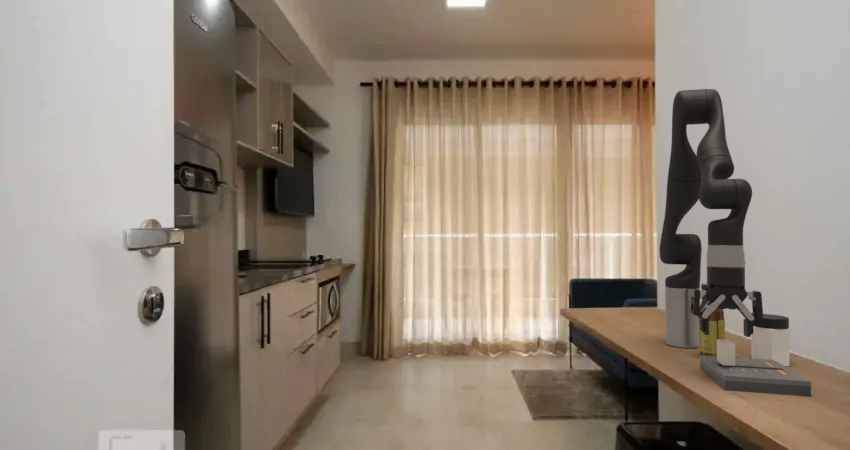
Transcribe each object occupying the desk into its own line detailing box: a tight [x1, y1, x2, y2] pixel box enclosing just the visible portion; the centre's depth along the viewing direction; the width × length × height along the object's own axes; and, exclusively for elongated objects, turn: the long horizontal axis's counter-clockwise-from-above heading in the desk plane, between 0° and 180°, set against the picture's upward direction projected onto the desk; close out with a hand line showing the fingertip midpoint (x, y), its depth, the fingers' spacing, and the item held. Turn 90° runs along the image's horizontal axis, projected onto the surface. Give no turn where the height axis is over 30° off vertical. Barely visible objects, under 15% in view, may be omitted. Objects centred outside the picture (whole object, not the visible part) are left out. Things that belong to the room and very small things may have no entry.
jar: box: [750, 313, 791, 367], centre depth 129 cm, size 9×8×12 cm
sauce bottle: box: [698, 282, 726, 356], centre depth 134 cm, size 6×6×20 cm
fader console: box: [699, 354, 812, 397], centre depth 113 cm, size 18×16×3 cm
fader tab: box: [717, 339, 736, 367], centre depth 115 cm, size 4×3×6 cm, turn 166°
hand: (726, 335), depth 114 cm, fingers open, 8 cm apart
